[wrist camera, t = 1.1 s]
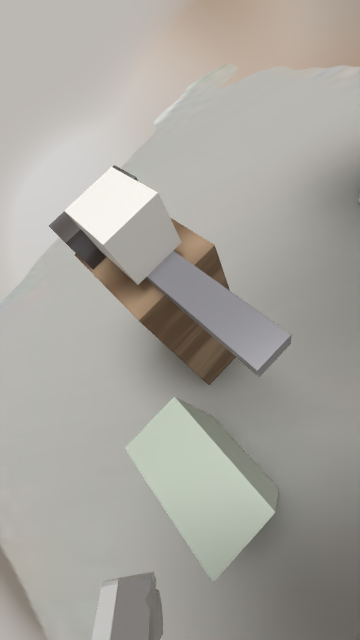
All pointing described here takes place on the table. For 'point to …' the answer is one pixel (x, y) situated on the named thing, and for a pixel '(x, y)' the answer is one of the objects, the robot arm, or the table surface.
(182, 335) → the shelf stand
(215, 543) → the block
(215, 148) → the table surface
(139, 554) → the table surface
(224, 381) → the table surface
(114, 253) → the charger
